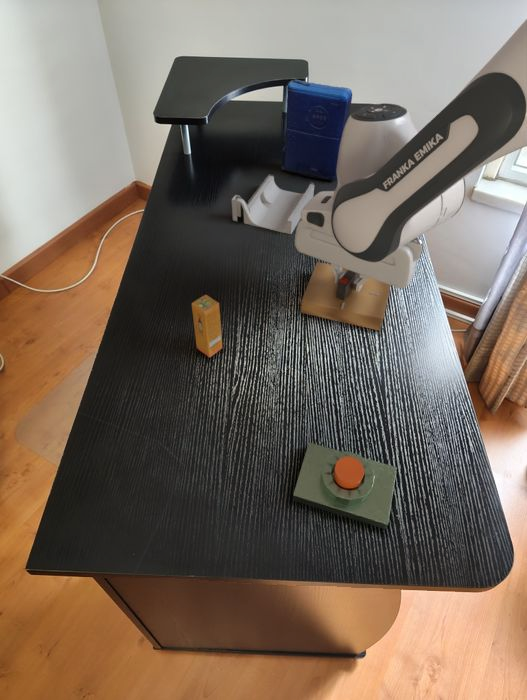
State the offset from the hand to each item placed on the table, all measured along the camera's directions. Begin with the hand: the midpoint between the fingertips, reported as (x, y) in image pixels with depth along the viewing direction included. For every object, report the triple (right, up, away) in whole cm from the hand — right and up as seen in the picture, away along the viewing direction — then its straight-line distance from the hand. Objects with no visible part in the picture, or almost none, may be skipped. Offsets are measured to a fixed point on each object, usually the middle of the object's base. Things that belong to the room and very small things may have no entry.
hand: (347, 285), depth 83 cm
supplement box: (-24, -11, -4) cm, 26 cm away
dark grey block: (0, 0, +1) cm, 1 cm away
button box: (-4, -29, -20) cm, 36 cm away
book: (-3, +31, +32) cm, 45 cm away
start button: (-4, -27, -22) cm, 35 cm away
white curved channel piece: (-12, +20, +22) cm, 32 cm away
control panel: (0, -2, +3) cm, 4 cm away
